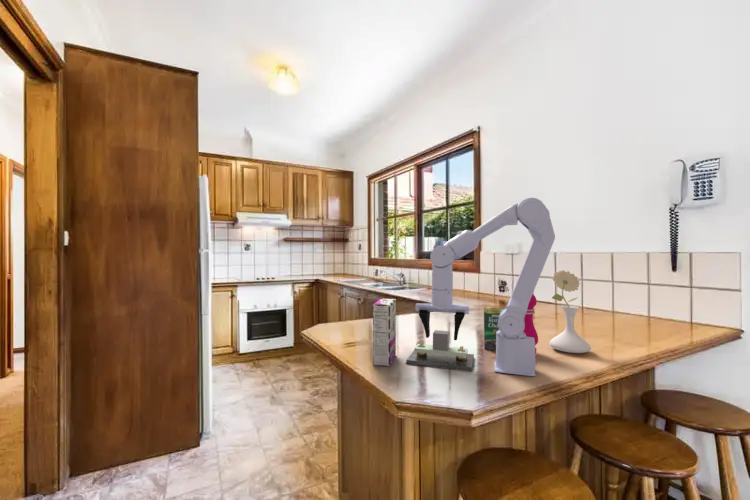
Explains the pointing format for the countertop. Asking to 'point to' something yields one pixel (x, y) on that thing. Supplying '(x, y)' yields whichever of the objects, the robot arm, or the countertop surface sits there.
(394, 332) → the candy bar box
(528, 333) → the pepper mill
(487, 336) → the coffee box
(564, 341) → the flower in vase
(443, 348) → the board
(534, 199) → the robot arm
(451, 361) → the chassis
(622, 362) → the countertop surface
